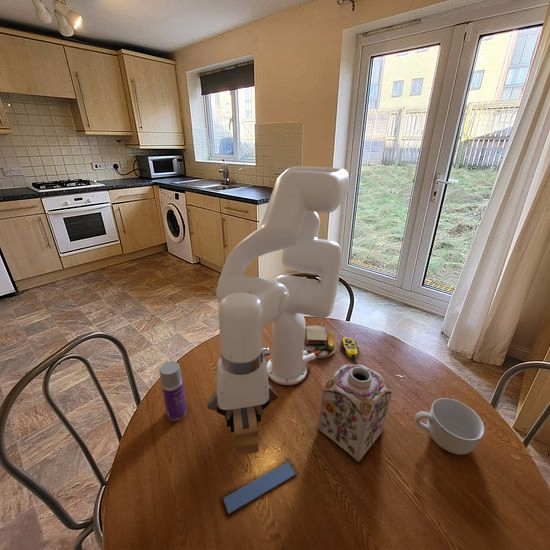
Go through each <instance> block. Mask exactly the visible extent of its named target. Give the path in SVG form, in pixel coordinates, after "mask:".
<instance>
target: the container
mask: <svg viewBox="0 0 550 550" xmlns="http://www.w3.org/2000/svg"><path fill="white" fill-rule="evenodd" d="M159 375H160V383H161V388H162V390H161V391H162V394H163V400H164V405H165V412H166V416H167V418H168V419H169V420H170V421H179V420H182V419H183V418H184V417H185V416H186V414H187V406H186V400H185V399H186V398H185V390H184V385H183V384H184V383H183V378H182V372H181V366H180V364H179V363H178V362H177V361H173V360H171V361H167V362H165V363H162V364H161V366H160V367H159Z"/></svg>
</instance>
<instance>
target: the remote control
mask: <svg viewBox="0 0 550 550" xmlns="http://www.w3.org/2000/svg"><path fill="white" fill-rule="evenodd" d="M341 348H342V351H343V352H344V354H345V355H346V356H347V357H348V358H351V359H353V362H354V365H358V362H357V360H356V358H357V357H358V353H359V347H358V344H357V343H356V341H354V340H353V338H352V337H342V341H341Z"/></svg>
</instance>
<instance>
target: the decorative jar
mask: <svg viewBox="0 0 550 550" xmlns="http://www.w3.org/2000/svg"><path fill="white" fill-rule="evenodd" d="M392 393H393V390H392V389H391V387H390V385H389V383H387V381H386V380H385V379H384V378H383V376H382V374H380V373H378V372H377V371H375V370H373V369H371V368H369V367H368V366H366V365H363V364H357V365H355V364H351V363H350V364H342V365H341V366H340V367H339V368H337V369H336V370H335V372H334V373H333V374H332V375H331V377H330V379H328V381H327V382H326V383H325V385H324V386H323V388H322V395H321V402H320V409H319V416H318V430H319V431H320V432H321V433H322V434H323V435H325V436H326V437H328V438H329V439H330V440H332V441H333V442H334V443H335V444H336V445H337V446H338V447H340V448H341V449H342V450H344V451H345V452H346V453H347V454H348V455H350V457H352V458H353V459H354V460H355V461H357V462H360V461H361V460H362V459H363V457H364V456H365V455H366V453H367V452H368V451H369V450H370V448H371V447H372V446H373V445H374V443H375V441H377V439H378V438H379V437H380V435H381V434H382V432H383V431H384V426H385V422H386V419H387V415H388V411H389V406H390V401H391V397H392Z"/></svg>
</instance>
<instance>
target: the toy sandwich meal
mask: <svg viewBox="0 0 550 550" xmlns="http://www.w3.org/2000/svg"><path fill="white" fill-rule="evenodd" d="M326 332H327V329H326V327H325V326H322V325H306V327H305V340H304V351H305V350H306V351H307V355H309V354H312V353H314V354H315V356H316V358H315V359H326V358H328V357H331V356H332V355H333V354H334V353H336V351H337V345H336V342H335V341H334V337H333V333H332V332H328V335H327V333H326ZM307 355H306V356H307Z"/></svg>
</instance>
